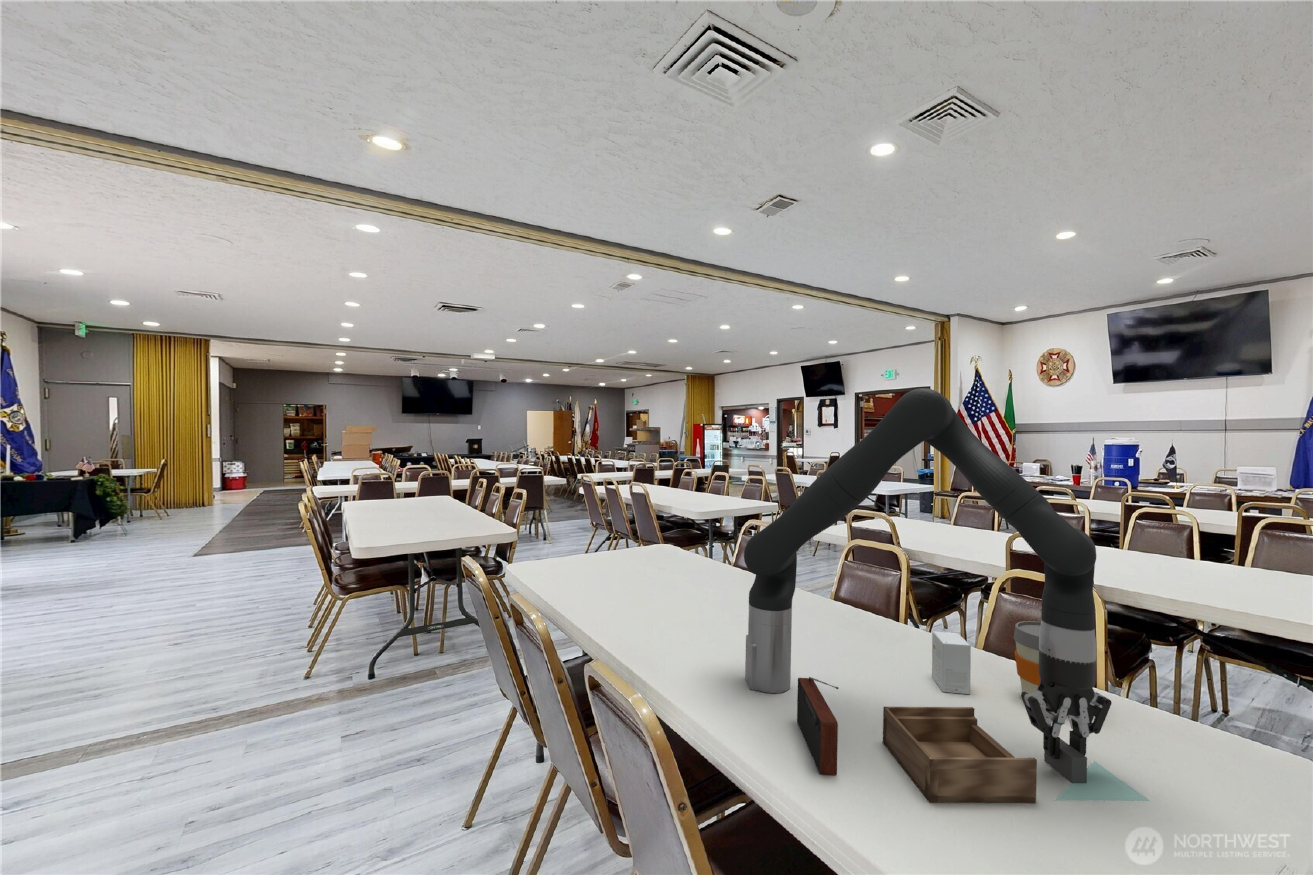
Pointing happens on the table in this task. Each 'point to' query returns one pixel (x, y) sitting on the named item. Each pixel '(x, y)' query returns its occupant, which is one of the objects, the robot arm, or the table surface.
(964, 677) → the small box
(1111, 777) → the cover plate
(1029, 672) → the reusable coffee cup
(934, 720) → the walnut box
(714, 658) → the table surface
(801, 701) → the radio
